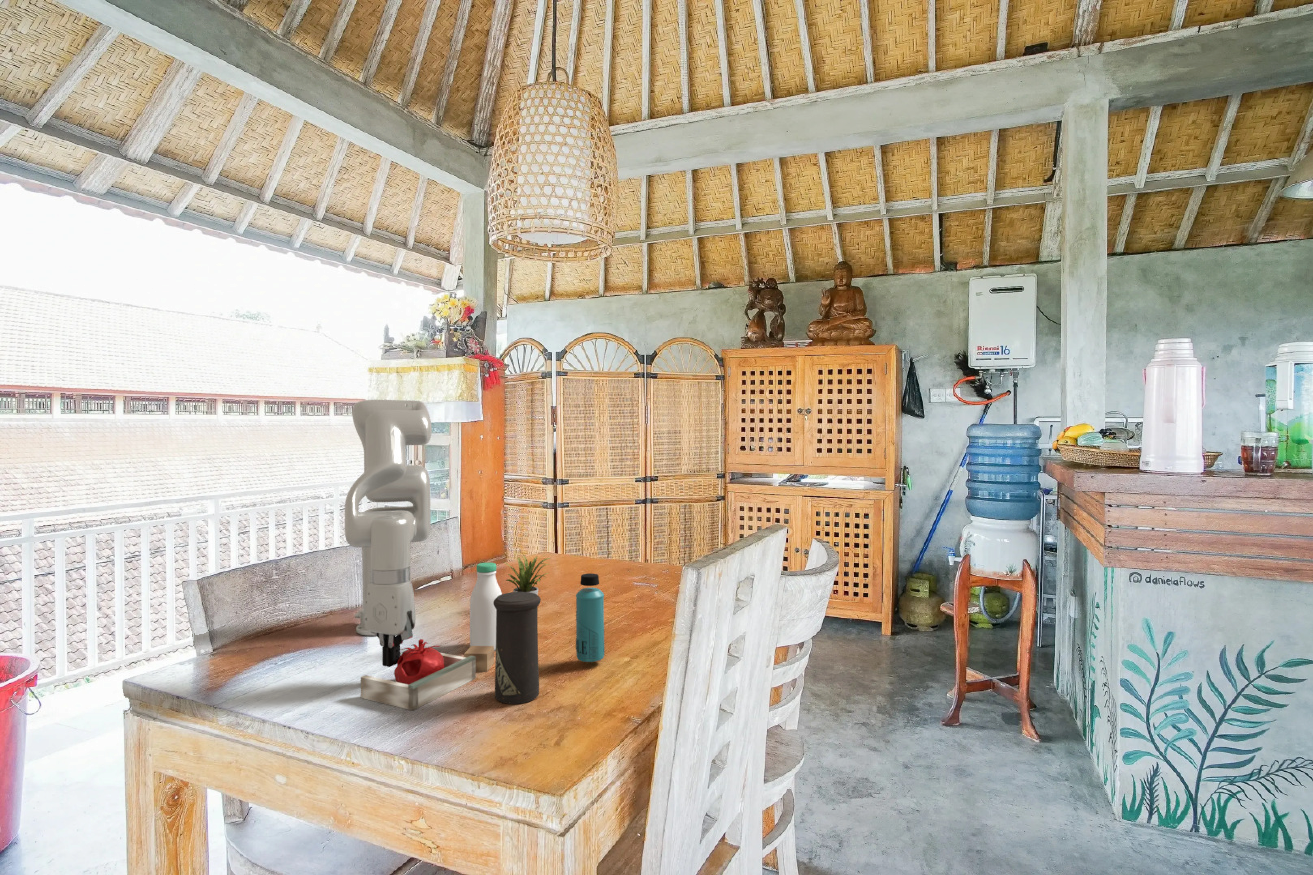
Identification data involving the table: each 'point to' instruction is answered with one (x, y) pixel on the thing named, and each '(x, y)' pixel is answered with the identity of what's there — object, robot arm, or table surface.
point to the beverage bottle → (590, 620)
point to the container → (516, 647)
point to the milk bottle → (484, 606)
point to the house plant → (526, 576)
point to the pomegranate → (418, 663)
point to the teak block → (482, 657)
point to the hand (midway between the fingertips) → (391, 664)
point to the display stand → (421, 684)
